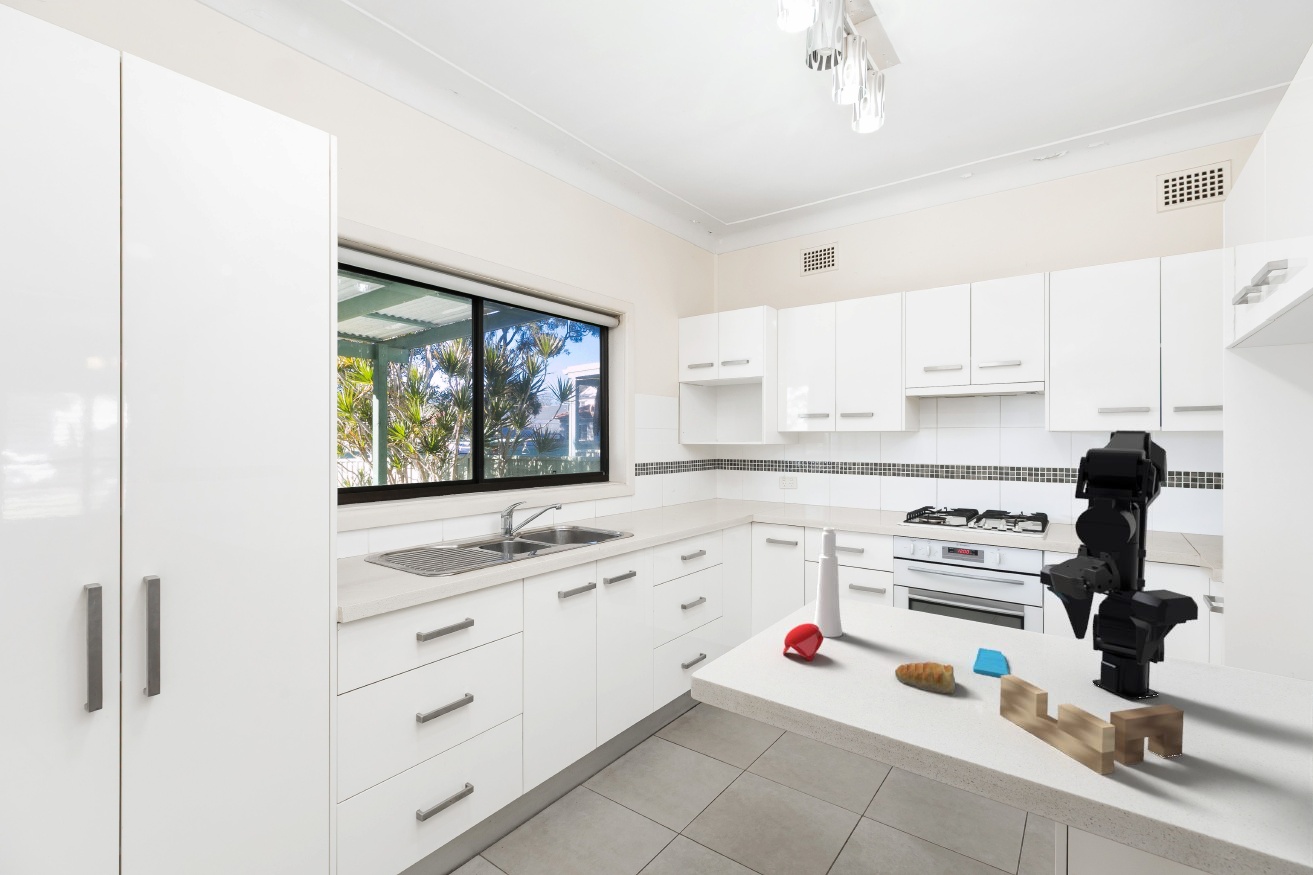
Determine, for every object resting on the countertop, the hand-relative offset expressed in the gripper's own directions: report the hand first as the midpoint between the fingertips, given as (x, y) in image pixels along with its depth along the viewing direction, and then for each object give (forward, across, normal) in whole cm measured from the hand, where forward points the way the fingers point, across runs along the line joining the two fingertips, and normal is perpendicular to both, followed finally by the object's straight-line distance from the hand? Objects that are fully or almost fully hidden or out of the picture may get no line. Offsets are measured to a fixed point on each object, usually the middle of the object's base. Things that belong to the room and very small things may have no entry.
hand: (1109, 650), depth 85 cm
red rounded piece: (+13, -36, -29) cm, 48 cm away
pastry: (+13, -20, -13) cm, 28 cm away
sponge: (+13, -25, +4) cm, 29 cm away
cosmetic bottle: (+13, -46, -18) cm, 52 cm away
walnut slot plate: (+12, +5, +1) cm, 13 cm away
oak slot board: (+12, -1, -8) cm, 15 cm away
